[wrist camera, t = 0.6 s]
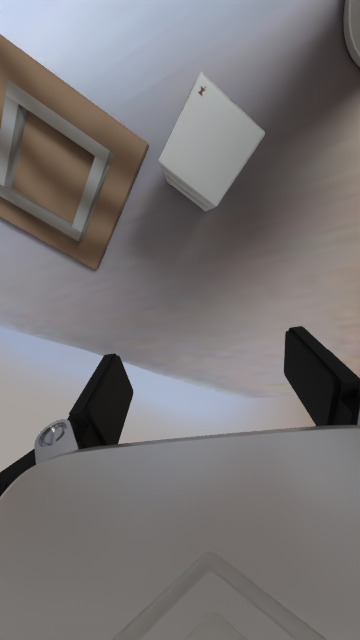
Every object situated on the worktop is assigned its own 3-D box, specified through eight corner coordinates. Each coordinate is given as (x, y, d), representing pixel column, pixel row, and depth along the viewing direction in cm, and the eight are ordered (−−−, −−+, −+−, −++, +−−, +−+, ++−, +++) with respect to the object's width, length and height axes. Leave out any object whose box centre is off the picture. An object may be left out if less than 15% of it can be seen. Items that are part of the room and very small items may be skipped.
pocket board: (1, 37, 24) (-20, 16, 22) (149, 146, 28) (145, 139, 26) (-21, 202, 32) (-38, 200, 29) (98, 268, 36) (91, 272, 34)
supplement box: (165, 183, 30) (154, 159, 19) (194, 128, 27) (201, 63, 16) (205, 213, 32) (216, 209, 21) (236, 165, 29) (268, 130, 18)
